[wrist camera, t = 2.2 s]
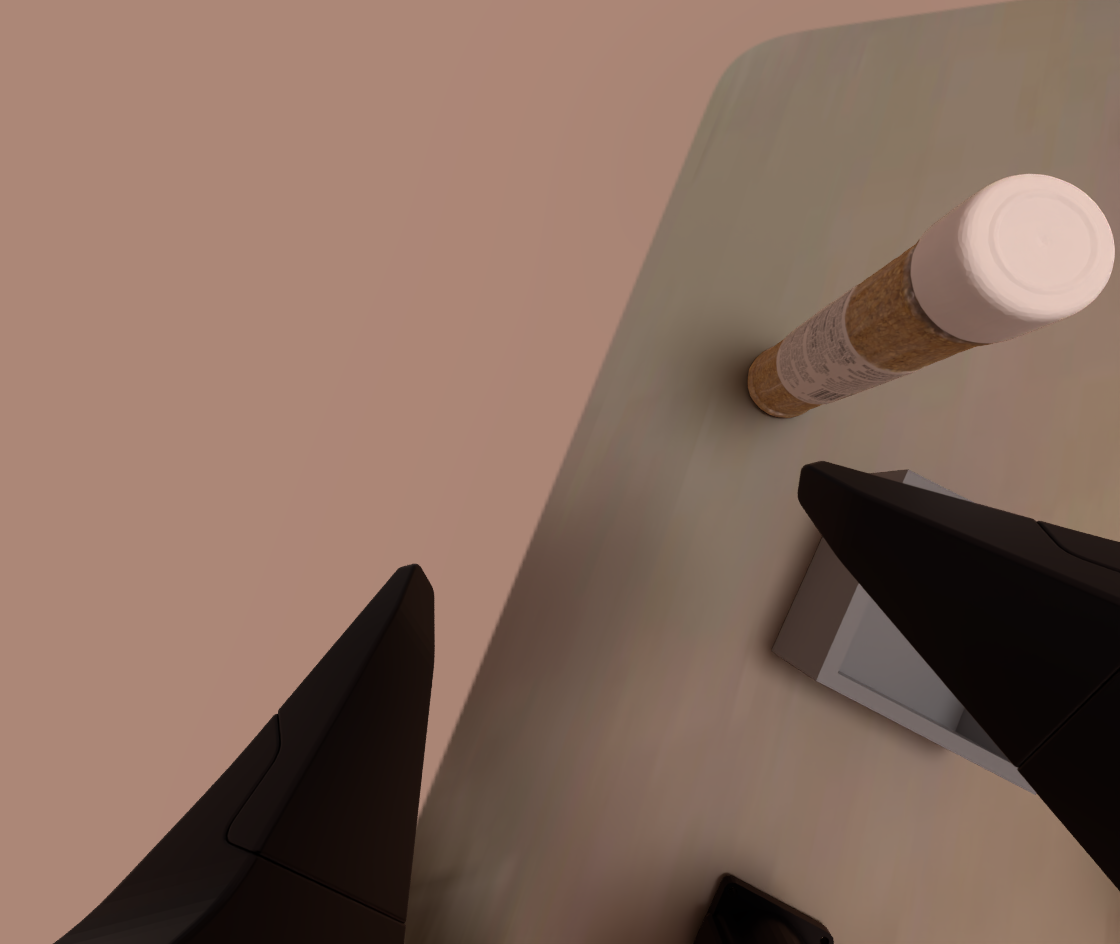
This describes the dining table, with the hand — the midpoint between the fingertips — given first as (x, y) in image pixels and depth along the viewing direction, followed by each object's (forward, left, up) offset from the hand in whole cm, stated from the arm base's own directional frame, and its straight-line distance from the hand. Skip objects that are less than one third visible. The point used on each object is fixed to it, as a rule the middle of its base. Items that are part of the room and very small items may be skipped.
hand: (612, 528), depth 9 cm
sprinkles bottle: (-8, -13, -15) cm, 21 cm away
